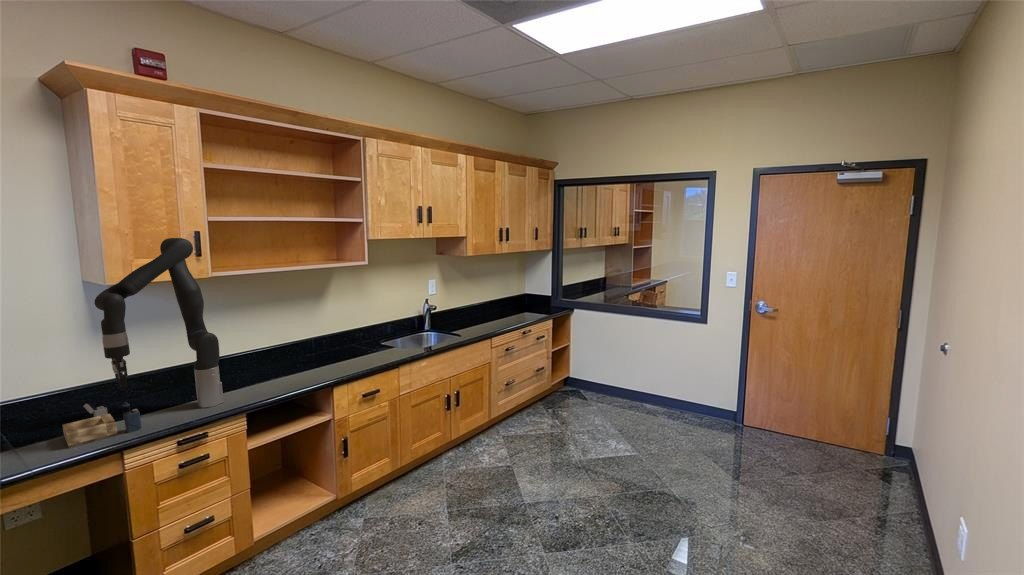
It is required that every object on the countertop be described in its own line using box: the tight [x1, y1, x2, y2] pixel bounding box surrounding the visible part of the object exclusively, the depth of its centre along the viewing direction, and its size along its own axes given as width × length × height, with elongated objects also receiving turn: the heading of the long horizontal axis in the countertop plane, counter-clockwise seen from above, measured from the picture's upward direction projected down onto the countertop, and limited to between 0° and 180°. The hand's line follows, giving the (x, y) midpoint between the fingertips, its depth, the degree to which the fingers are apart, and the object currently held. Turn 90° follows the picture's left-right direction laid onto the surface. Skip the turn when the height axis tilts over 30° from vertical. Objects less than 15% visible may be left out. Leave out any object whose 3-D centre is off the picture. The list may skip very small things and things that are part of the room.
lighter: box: [82, 403, 109, 417], centre depth 198 cm, size 7×2×8 cm, turn 152°
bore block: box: [61, 413, 119, 449], centre depth 183 cm, size 14×14×5 cm
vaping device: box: [121, 401, 142, 434], centre depth 187 cm, size 3×5×12 cm, turn 146°
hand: (122, 384), depth 185 cm, fingers open, 8 cm apart
